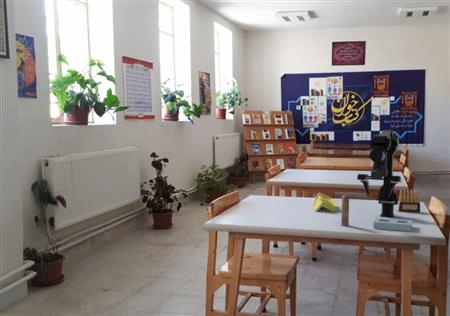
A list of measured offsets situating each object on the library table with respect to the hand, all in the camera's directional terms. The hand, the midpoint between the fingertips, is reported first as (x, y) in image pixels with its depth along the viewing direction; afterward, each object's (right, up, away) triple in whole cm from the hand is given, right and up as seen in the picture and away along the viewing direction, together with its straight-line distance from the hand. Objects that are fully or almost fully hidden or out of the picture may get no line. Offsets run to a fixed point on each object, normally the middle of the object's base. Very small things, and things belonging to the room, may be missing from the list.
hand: (378, 197), depth 223 cm
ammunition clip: (+28, -11, +36) cm, 46 cm away
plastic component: (-15, -10, +45) cm, 49 cm away
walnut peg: (-14, -14, +5) cm, 20 cm away
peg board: (+7, -14, 0) cm, 16 cm away
